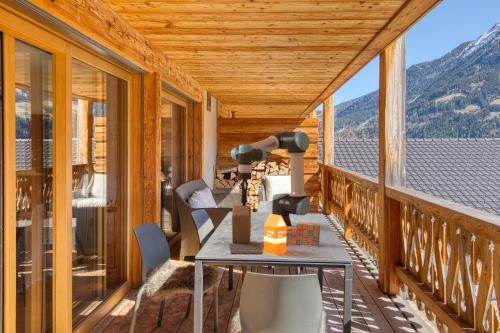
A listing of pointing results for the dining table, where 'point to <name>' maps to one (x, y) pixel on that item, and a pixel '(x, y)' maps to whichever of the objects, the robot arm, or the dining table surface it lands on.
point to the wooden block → (241, 224)
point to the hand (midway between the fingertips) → (243, 213)
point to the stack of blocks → (303, 234)
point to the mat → (245, 248)
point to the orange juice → (275, 235)
